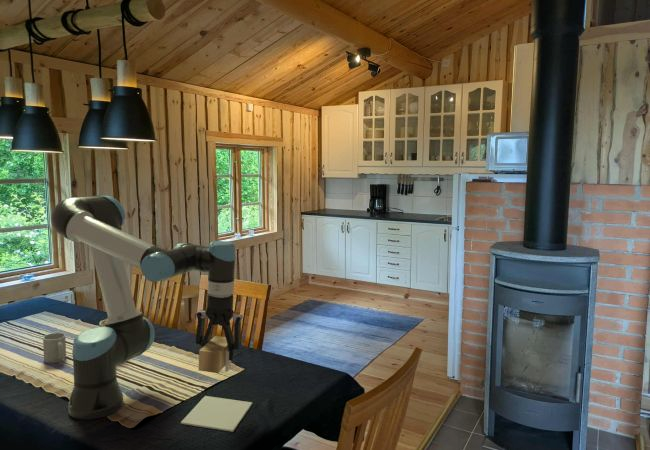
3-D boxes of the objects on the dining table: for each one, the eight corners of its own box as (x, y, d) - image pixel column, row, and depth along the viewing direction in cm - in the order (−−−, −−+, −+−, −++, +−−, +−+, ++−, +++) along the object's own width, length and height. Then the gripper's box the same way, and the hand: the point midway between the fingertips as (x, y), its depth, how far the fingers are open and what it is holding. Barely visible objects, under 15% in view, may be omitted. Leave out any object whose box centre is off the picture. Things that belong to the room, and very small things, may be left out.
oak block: (218, 373, 136) (232, 356, 147) (219, 353, 135) (233, 338, 147) (198, 370, 137) (214, 354, 148) (199, 350, 136) (215, 335, 147)
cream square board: (180, 423, 138) (180, 422, 138) (205, 397, 154) (205, 395, 154) (232, 431, 135) (232, 430, 135) (252, 403, 151) (252, 402, 151)
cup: (61, 353, 182) (60, 331, 181) (72, 361, 176) (72, 338, 175) (40, 359, 177) (39, 336, 175) (51, 367, 170) (50, 343, 169)
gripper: (184, 293, 138) (182, 369, 141) (247, 301, 135) (243, 378, 138) (195, 287, 145) (192, 359, 148) (255, 294, 142) (251, 367, 146)
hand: (217, 368), depth 143 cm, fingers closed on oak block, 6 cm apart
